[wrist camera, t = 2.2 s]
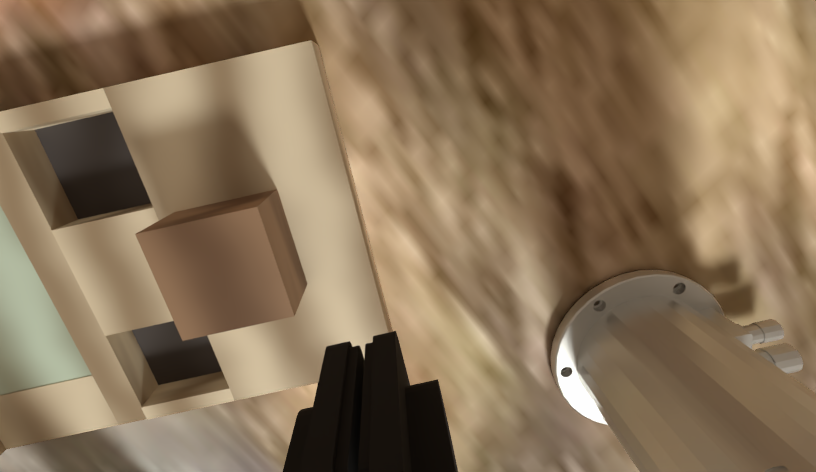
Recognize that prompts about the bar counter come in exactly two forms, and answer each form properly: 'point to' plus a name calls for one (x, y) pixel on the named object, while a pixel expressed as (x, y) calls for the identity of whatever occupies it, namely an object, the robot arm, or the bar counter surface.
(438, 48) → the bar counter surface
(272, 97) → the trap board
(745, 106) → the bar counter surface
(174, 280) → the walnut block
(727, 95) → the bar counter surface
